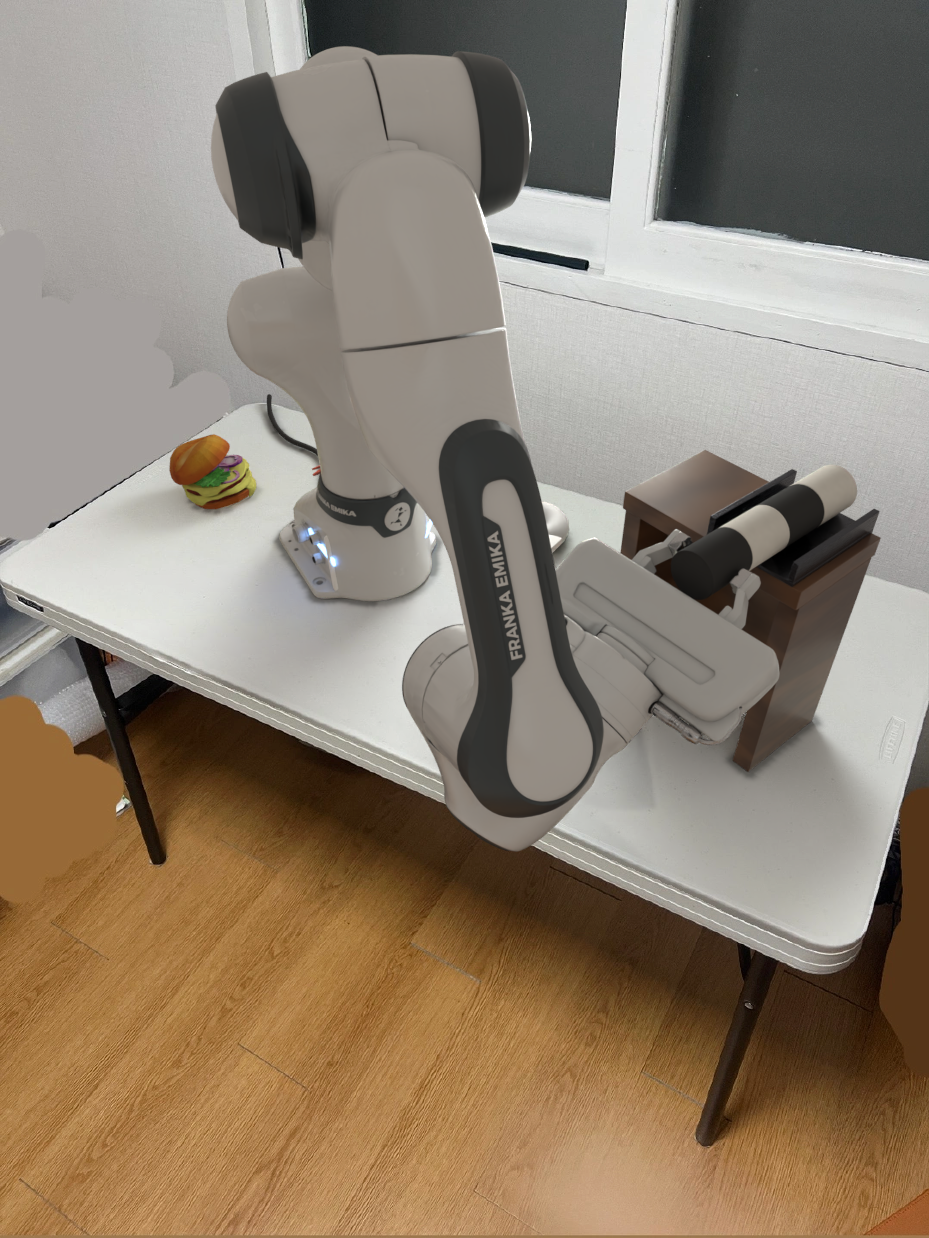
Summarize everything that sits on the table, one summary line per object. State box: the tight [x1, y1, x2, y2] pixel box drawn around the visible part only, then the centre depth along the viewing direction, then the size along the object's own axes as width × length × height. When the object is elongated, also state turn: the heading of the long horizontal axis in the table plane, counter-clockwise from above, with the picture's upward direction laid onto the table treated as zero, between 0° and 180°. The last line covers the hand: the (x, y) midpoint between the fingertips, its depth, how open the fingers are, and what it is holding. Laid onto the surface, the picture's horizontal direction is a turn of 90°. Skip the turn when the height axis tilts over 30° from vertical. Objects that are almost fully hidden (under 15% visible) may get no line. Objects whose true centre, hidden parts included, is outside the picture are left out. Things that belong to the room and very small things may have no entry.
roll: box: [671, 464, 858, 600], centre depth 77 cm, size 20×4×4 cm, turn 129°
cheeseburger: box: [169, 433, 257, 510], centre depth 127 cm, size 10×11×10 cm
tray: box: [707, 468, 881, 587], centre depth 80 cm, size 9×12×2 cm
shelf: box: [619, 449, 882, 773], centre depth 91 cm, size 20×12×24 cm, turn 39°
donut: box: [542, 500, 570, 544], centre depth 120 cm, size 10×4×10 cm
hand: (718, 555), depth 73 cm, fingers open, 5 cm apart
